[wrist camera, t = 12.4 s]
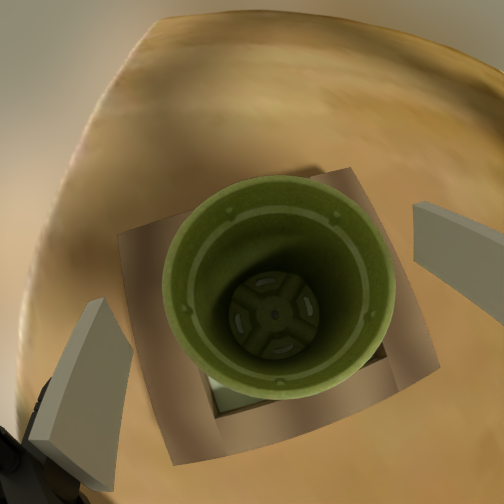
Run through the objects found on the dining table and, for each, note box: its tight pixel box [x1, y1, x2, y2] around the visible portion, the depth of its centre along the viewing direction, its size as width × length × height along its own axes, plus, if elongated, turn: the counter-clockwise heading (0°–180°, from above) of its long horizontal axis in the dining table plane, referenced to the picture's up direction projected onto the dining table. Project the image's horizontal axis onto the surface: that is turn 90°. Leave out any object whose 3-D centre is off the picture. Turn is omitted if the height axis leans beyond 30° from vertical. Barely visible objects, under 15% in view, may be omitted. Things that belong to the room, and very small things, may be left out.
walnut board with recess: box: [117, 167, 440, 466], centre depth 19 cm, size 18×16×3 cm
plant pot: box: [162, 175, 396, 400], centre depth 15 cm, size 9×9×9 cm
